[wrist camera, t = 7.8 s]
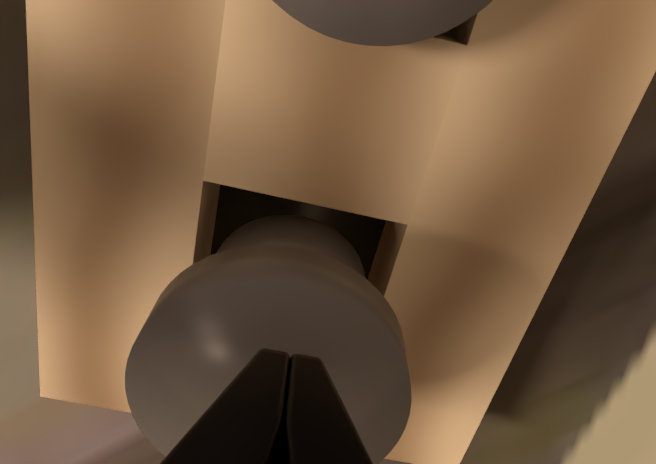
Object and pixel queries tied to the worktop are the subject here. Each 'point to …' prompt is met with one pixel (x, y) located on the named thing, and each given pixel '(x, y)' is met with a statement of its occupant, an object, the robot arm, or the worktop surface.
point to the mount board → (323, 170)
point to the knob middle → (381, 18)
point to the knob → (270, 331)
